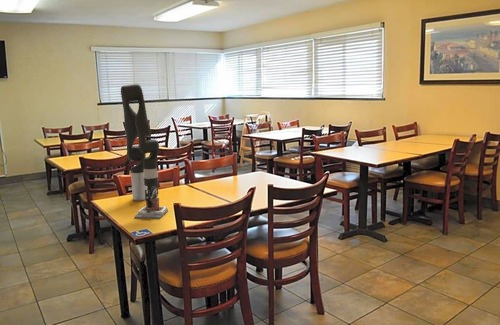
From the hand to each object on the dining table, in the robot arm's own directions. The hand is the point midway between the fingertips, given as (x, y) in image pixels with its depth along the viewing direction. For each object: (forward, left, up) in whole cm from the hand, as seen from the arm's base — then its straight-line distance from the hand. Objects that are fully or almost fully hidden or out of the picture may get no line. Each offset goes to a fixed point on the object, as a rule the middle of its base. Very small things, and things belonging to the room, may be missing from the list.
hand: (152, 205), depth 233 cm
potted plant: (-1, 0, -4) cm, 4 cm away
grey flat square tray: (+2, 0, -5) cm, 5 cm away
